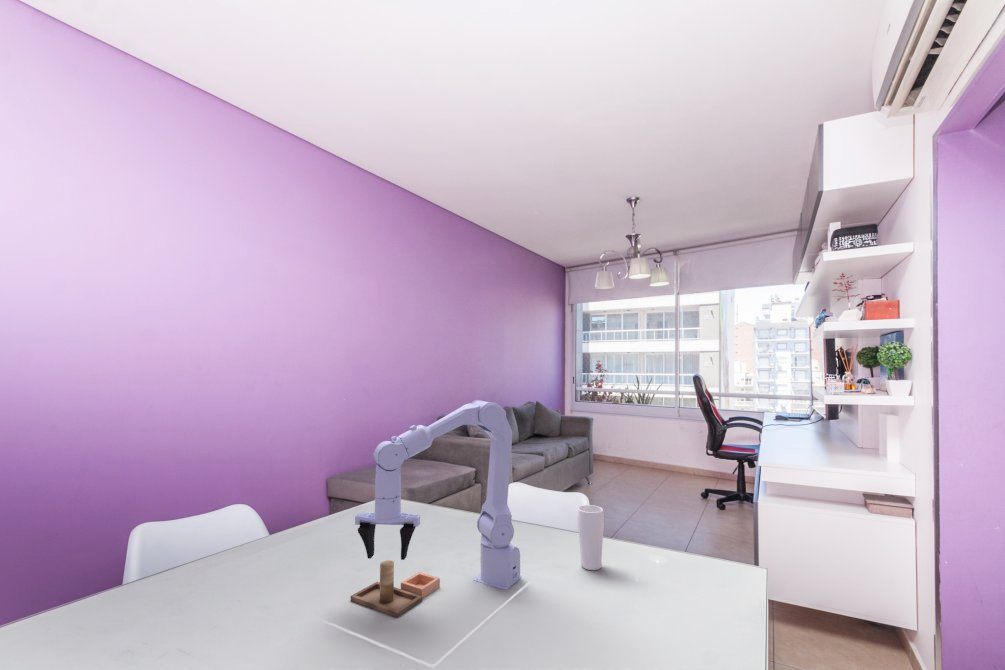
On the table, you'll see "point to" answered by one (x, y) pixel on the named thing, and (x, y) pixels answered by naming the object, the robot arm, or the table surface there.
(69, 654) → the table surface
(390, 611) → the tray
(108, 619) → the table surface
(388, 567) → the dowel
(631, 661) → the table surface
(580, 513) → the drinking glass
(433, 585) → the open box
